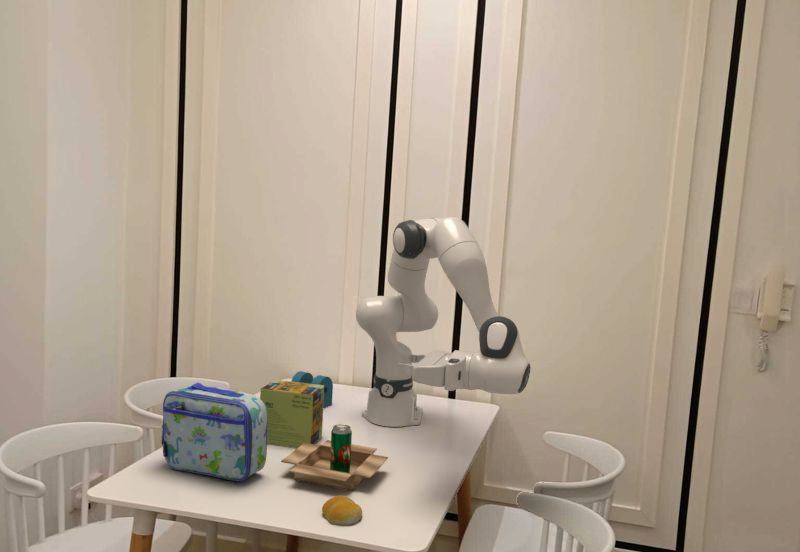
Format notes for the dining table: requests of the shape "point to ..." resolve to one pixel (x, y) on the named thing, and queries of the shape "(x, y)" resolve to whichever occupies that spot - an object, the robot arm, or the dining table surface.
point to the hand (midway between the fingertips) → (403, 362)
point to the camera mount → (318, 380)
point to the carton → (316, 465)
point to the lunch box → (214, 432)
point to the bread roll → (342, 510)
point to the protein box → (293, 412)
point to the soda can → (341, 448)
